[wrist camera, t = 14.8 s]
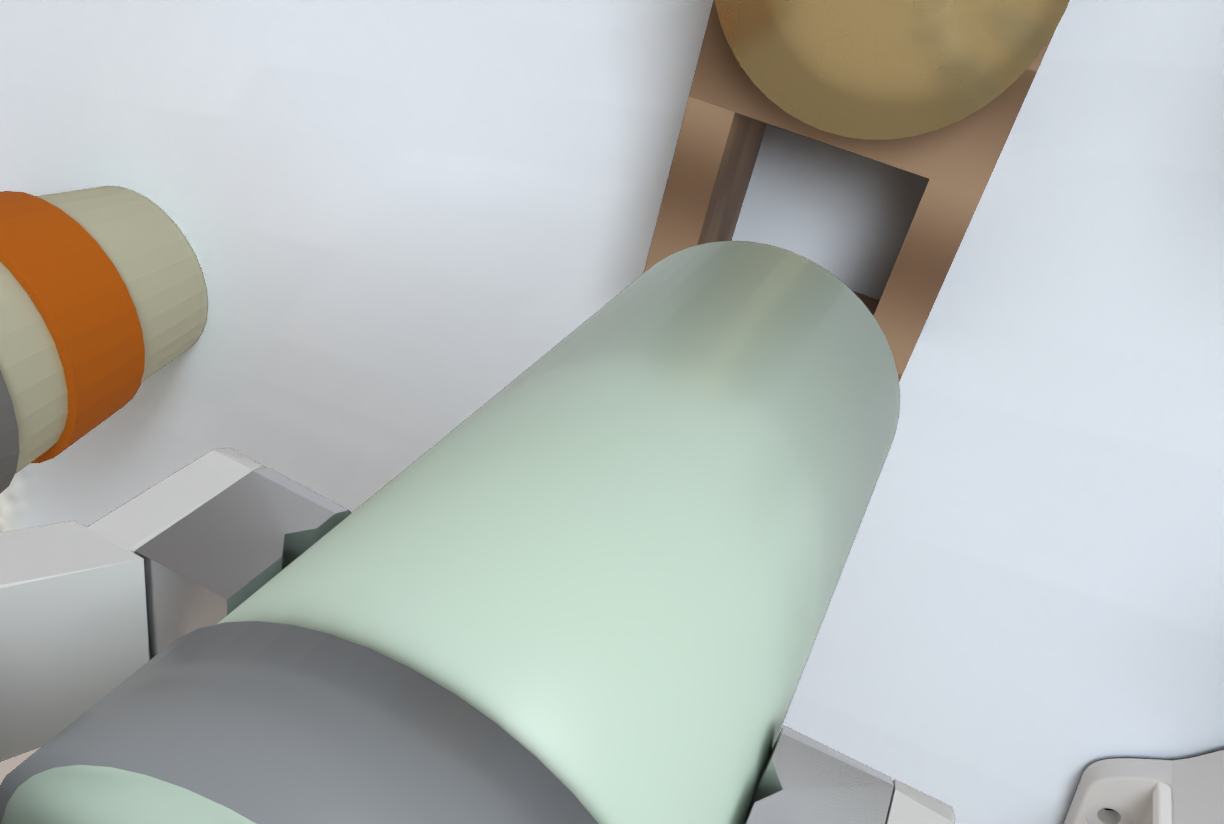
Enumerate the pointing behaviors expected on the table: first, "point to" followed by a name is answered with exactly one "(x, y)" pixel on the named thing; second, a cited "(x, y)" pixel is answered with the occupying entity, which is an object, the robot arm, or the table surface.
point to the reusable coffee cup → (86, 312)
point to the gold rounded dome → (886, 58)
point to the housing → (949, 157)
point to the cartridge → (537, 590)
